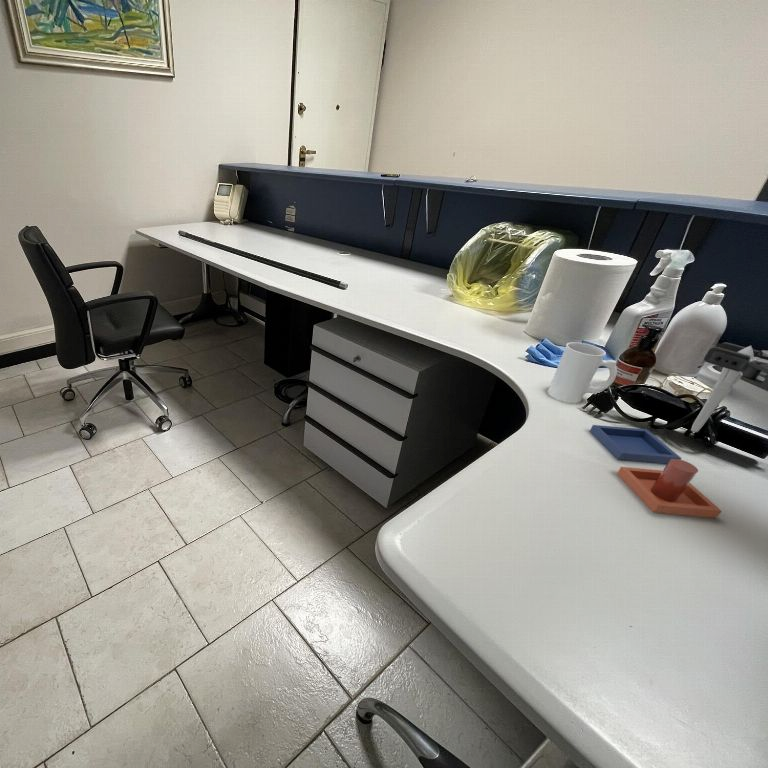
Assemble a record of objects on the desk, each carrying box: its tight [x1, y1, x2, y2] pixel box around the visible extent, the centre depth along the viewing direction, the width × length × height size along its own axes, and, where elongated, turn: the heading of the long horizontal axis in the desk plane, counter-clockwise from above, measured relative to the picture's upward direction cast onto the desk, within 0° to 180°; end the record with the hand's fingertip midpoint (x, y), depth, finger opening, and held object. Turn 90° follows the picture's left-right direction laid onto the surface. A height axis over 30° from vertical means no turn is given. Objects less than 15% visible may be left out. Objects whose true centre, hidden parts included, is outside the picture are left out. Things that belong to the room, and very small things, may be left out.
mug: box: [547, 341, 618, 404], centre depth 88 cm, size 10×7×12 cm, turn 49°
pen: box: [690, 345, 754, 433], centre depth 58 cm, size 2×3×14 cm
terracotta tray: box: [616, 466, 722, 519], centre depth 64 cm, size 9×9×2 cm
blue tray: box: [589, 424, 682, 465], centre depth 75 cm, size 10×9×2 cm
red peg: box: [651, 459, 699, 502], centre depth 63 cm, size 3×3×6 cm
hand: (713, 351), depth 57 cm, fingers closed on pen, 2 cm apart
